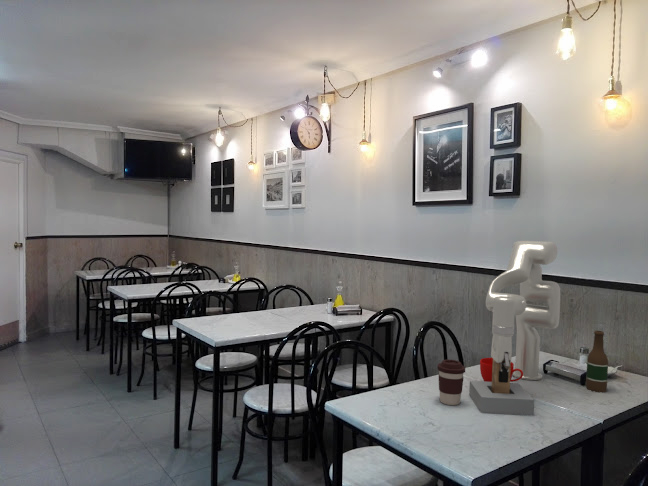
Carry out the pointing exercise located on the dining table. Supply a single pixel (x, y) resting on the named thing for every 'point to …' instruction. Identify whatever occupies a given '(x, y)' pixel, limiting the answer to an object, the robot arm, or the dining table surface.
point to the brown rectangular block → (496, 385)
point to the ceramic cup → (486, 370)
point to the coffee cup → (450, 381)
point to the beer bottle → (597, 365)
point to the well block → (501, 399)
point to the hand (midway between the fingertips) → (500, 379)
